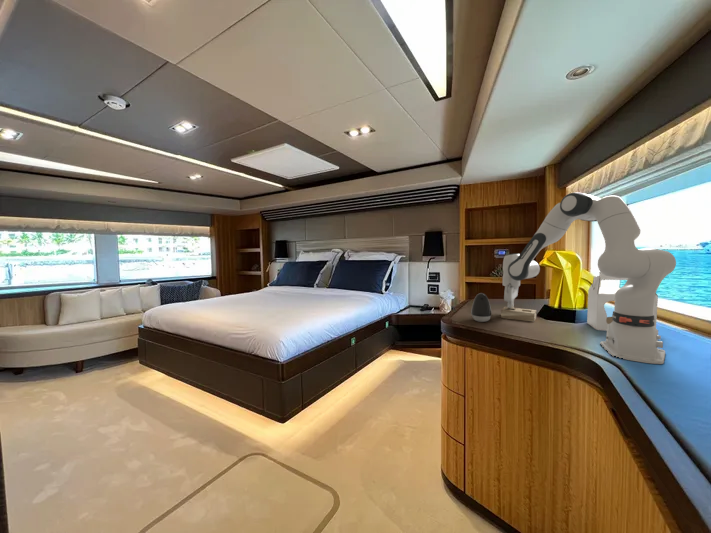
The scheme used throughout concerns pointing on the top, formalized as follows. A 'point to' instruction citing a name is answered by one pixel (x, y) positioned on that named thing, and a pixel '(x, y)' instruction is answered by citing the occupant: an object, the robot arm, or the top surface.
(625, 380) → the top surface
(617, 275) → the robot arm
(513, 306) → the peg
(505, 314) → the hole block
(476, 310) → the dark grey egg speaker
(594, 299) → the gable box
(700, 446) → the top surface
